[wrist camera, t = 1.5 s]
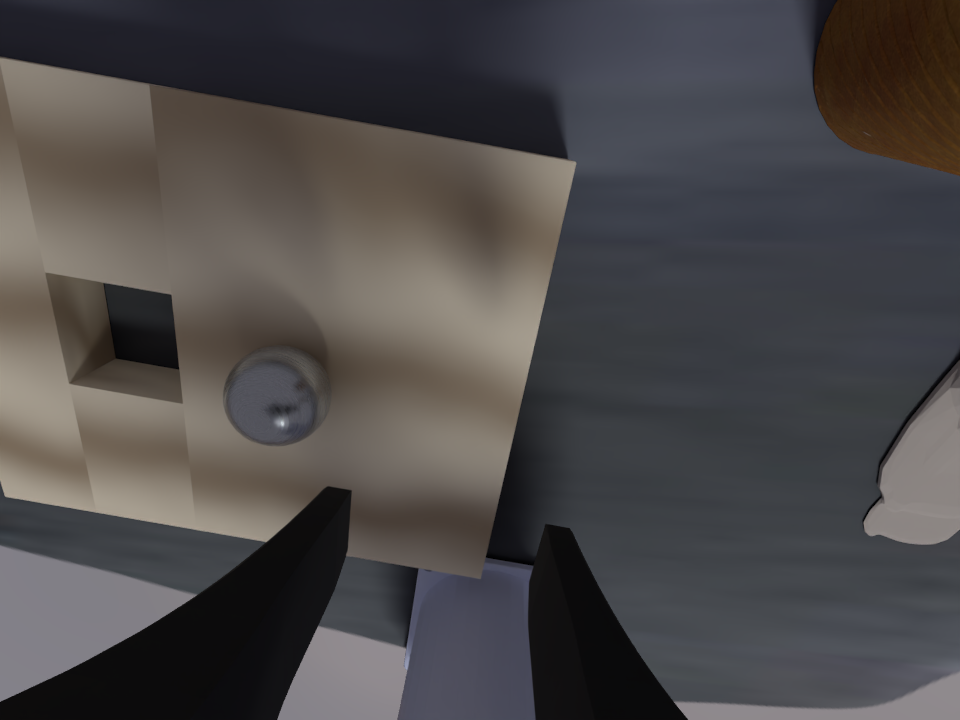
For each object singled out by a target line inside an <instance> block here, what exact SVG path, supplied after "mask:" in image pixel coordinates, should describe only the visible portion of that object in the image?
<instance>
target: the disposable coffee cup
mask: <svg viewBox="0 0 960 720" xmlns="http://www.w3.org/2000/svg"><path fill="white" fill-rule="evenodd" d="M814 84H815V94H816V98H817V102H818V106H819V110H820V112H821V114H822V116H823V118H824V119H825V121H826V123H827V125H828V126H829V128H830V129H831V130H832V131H833V132H834V133H835V134H836V136H837V137H838V138H839V139H841V140H842V141H844V142H845V143H847V144H848V145H850V146H851V147H853V148H855V149H858V150H861V151H864V152H867V153H870V154H877V155H881V156H885V157H889V158H893V159H896V160H901V161H905V162H908V163H912V164H917V165H921V166H924V167H928V168H933V169H936V170H940V171H944V172H948V173H952V174H955V175H959V176H960V0H837V2H836V3H835V5H834V7H833V9H832V11H831V13H830V15H829V17H828V19H827V21H826V23H825V26H824V29H823V32H822V36H821V39H820V42H819V46H818V49H817V54H816V62H815V70H814Z"/></svg>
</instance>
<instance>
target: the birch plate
mask: <svg viewBox="0 0 960 720" xmlns="http://www.w3.org/2000/svg"><path fill="white" fill-rule="evenodd" d="M575 166H576V162H574V161H572V160H569V159H564V158H558V157H552V156H547V155H541V154H536V153H530V152H525V151H519V150H514V149H508V148H503V147H497V146H492V145H486V144H481V143H475V142H470V141H464V140H459V139H453V138H448V137H442V136H437V135H431V134H425V133H420V132H414V131H409V130H403V129H398V128H392V127H387V126H381V125H376V124H370V123H365V122H359V121H354V120H348V119H343V118H337V117H332V116H326V115H321V114H315V113H309V112H304V111H298V110H293V109H287V108H282V107H276V106H271V105H265V104H260V103H254V102H249V101H243V100H238V99H232V98H227V97H221V96H216V95H210V94H205V93H199V92H193V91H188V90H182V89H177V88H171V87H166V86H160V85H155V84H149V83H144V82H138V81H133V80H127V79H122V78H116V77H111V76H105V75H100V74H94V73H89V72H83V71H77V70H72V69H66V68H61V67H55V66H50V65H44V64H39V63H33V62H28V61H22V60H17V59H11V58H6V57H0V481H1V485H2V488H3V491H4V494H5V497H10V498H16V499H22V500H28V501H33V502H39V503H45V504H51V505H57V506H62V507H68V508H74V509H80V510H85V511H91V512H97V513H103V514H108V515H114V516H120V517H126V518H132V519H137V520H143V521H149V522H155V523H160V524H166V525H172V526H178V527H183V528H189V529H195V530H201V531H207V532H212V533H218V534H224V535H230V536H235V537H241V538H247V539H253V540H258V541H264V542H267V541H268V540H269V539H271V538H272V537H273V536H274V535H275V534H276V533H277V532H279V531H280V530H281V529H282V528H283V527H284V526H285V525H287V524H288V523H289V522H290V521H291V520H292V519H293V518H294V517H295V516H296V515H297V514H298V513H299V512H301V511H302V510H303V509H304V508H305V507H306V506H307V505H308V504H309V503H310V502H311V501H312V500H313V499H314V498H315V497H316V496H317V495H318V494H319V493H320V492H321V491H322V490H323V489H324V488H326V487H327V486H330V487H336V488H342V489H348V490H352V495H351V510H350V525H349V540H348V551H347V554H346V556H351V557H356V558H362V559H368V560H374V561H380V562H385V563H391V564H397V565H403V566H408V567H414V568H420V569H426V570H431V571H437V572H443V573H449V574H455V575H460V576H466V577H472V578H478V579H481V575H482V571H483V567H484V562H485V558H486V554H487V549H488V545H489V541H490V536H491V532H492V528H493V523H494V519H495V515H496V510H497V506H498V501H499V497H500V493H501V488H502V484H503V480H504V475H505V471H506V467H507V462H508V458H509V454H510V449H511V445H512V441H513V436H514V432H515V427H516V423H517V419H518V414H519V410H520V406H521V401H522V397H523V393H524V388H525V384H526V380H527V375H528V371H529V367H530V362H531V358H532V354H533V349H534V345H535V340H536V336H537V332H538V327H539V323H540V319H541V314H542V310H543V306H544V301H545V297H546V293H547V288H548V284H549V280H550V275H551V271H552V266H553V262H554V258H555V253H556V249H557V245H558V240H559V236H560V232H561V227H562V223H563V219H564V214H565V210H566V206H567V201H568V197H569V192H570V188H571V184H572V179H573V175H574V171H575ZM103 283H108V284H114V285H120V286H125V287H131V288H137V289H142V290H148V291H154V292H159V293H165V294H170V295H172V305H173V314H174V323H175V333H176V342H177V352H178V361H179V370H178V369H172V368H167V367H161V366H155V365H150V364H144V363H138V362H133V361H127V360H121V359H116V357H115V351H114V345H113V339H112V333H111V327H110V321H109V315H108V309H107V303H106V297H105V291H104V285H103ZM275 345H282V346H290V347H294V348H298V349H300V350H303V351H305V352H307V353H308V354H310V355H311V356H312V357H314V358H315V359H316V360H317V361H318V362H319V363H320V364H321V365H322V367H323V368H324V369H325V371H326V373H327V375H328V377H329V380H330V384H331V389H332V400H331V405H330V409H329V412H328V414H327V416H326V418H325V420H324V421H323V423H322V424H321V426H320V427H319V428H318V429H317V430H316V431H315V432H314V433H312V434H311V435H310V436H309V437H307V438H305V439H303V440H302V441H300V442H297V443H294V444H291V445H286V446H265V445H261V444H258V443H255V442H252V441H250V440H248V439H247V438H245V437H243V436H242V435H241V434H240V433H238V432H237V431H236V430H235V428H234V427H233V426H232V425H231V423H230V422H229V420H228V418H227V416H226V413H225V410H224V406H223V389H224V385H225V382H226V379H227V376H228V375H229V373H230V371H231V370H232V368H233V367H234V366H235V364H236V363H237V362H238V361H240V360H241V359H242V358H243V357H244V356H246V355H248V354H249V353H251V352H253V351H255V350H257V349H260V348H263V347H268V346H275Z"/></svg>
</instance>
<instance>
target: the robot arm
mask: <svg viewBox="0 0 960 720" xmlns="http://www.w3.org/2000/svg"><path fill="white" fill-rule="evenodd" d="M351 495H352V490H348V489H342V488H336V487H330V486H327V487H326V488H324V489H323V490H322V491H321V492H320V493H319V494H318V495H317V496H316V497H315V498H314V499H313V500H312V501H311V502H310V503H309V504H308V505H307V506H306V507H305V508H304V509H303V510H302V511H301V512H299V513H298V514H297V515H296V516H295V517H294V518H293V519H292V520H291V521H290V522H289V523H288V524H287V525H285V526H284V527H283V528H282V529H281V530H280V531H279V532H277V533H276V534H275V535H274V536H273V537H272V538H271V539H269V540H268V541H267V542H266V543H265V544H264V545H263V546H261V547H260V548H259V549H258V550H256V551H255V552H254V553H253V554H251V555H250V556H249V557H248V558H246V559H245V560H244V561H243V562H241V563H240V564H239V565H238V566H236V567H235V568H234V569H233V570H231V571H230V572H229V573H227V574H226V575H225V576H223V577H222V578H221V579H219V580H218V581H217V582H215V583H214V584H212V585H211V586H210V587H208V588H207V589H205V590H204V591H202V592H201V593H200V594H198V595H197V596H195V597H194V598H192V599H191V600H189V601H188V602H186V603H185V604H183V605H182V606H180V607H178V608H177V609H175V610H174V611H172V612H171V613H169V614H168V615H166V616H164V617H163V618H161V619H160V620H158V621H156V622H155V623H153V624H152V625H150V626H148V627H147V628H145V629H143V630H142V631H140V632H138V633H136V634H135V635H133V636H131V637H129V638H127V639H125V640H124V641H122V642H120V643H118V644H116V645H114V646H113V647H111V648H109V649H107V650H105V651H103V652H102V653H100V654H98V655H96V656H94V657H92V658H91V659H89V660H87V661H85V662H83V663H81V664H79V665H77V666H76V667H73V668H71V669H70V670H68V671H65V672H63V673H61V674H59V675H57V676H55V677H53V678H51V679H48V680H46V681H44V682H42V683H40V684H38V685H36V686H33V687H31V688H29V689H27V690H25V691H23V692H21V693H19V694H16V695H14V696H12V697H10V698H8V699H6V700H3V701H1V702H0V720H277V718H278V716H279V713H280V710H281V707H282V705H283V702H284V700H285V697H286V695H287V693H288V690H289V688H290V685H291V683H292V680H293V678H294V676H295V674H296V672H297V670H298V668H299V666H300V663H301V661H302V659H303V657H304V655H305V652H306V650H307V648H308V646H309V644H310V642H311V640H312V637H313V635H314V633H315V631H316V629H317V627H318V625H319V623H320V620H321V618H322V616H323V614H324V612H325V609H326V607H327V605H328V603H329V601H330V599H331V596H332V594H333V592H334V590H335V587H336V584H337V581H338V578H339V575H340V572H341V569H342V566H343V563H344V560H345V557H346V554H347V551H348V540H349V525H350V510H351ZM404 667H405V669H406V670H407V675H406V680H405V685H404V690H403V695H402V700H401V704H400V710H399V714H398V719H397V720H688V719H687V718H686V717H685V715H684V714H683V713H682V712H681V710H680V709H679V708H678V707H677V706H676V704H675V703H674V702H673V700H672V699H671V698H670V696H669V695H668V694H667V692H666V691H665V690H664V688H663V687H662V686H661V685H660V683H659V682H658V680H657V679H656V678H655V676H654V675H653V673H652V672H651V671H650V669H649V668H648V666H647V665H646V663H645V662H644V660H643V659H642V658H641V656H640V655H639V653H638V652H637V650H636V648H635V647H634V645H633V644H632V642H631V641H630V639H629V638H628V636H627V634H626V633H625V631H624V629H623V628H622V626H621V625H620V623H619V621H618V620H617V618H616V616H615V614H614V613H613V611H612V609H611V608H610V606H609V604H608V602H607V600H606V599H605V597H604V595H603V593H602V591H601V589H600V588H599V586H598V584H597V582H596V580H595V578H594V576H593V574H592V572H591V570H590V568H589V566H588V564H587V562H586V560H585V558H584V556H583V554H582V552H581V550H580V548H579V546H578V543H577V541H576V539H575V537H574V535H573V532H572V531H571V530H570V528H565V527H560V526H554V525H548V524H546V525H545V528H544V532H543V535H542V538H541V542H540V545H539V549H538V552H537V556H536V559H535V563H534V566H531V565H525V564H519V563H513V562H508V561H502V560H496V559H490V558H485V562H484V567H483V571H482V575H481V579H478V578H472V577H466V576H460V575H455V574H449V573H443V572H437V571H431V570H426V569H420V568H419V569H418V576H417V582H416V589H415V596H414V602H413V609H412V615H411V622H410V628H409V635H408V641H407V648H406V654H405V661H404Z"/></svg>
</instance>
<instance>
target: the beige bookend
mask: <svg viewBox="0 0 960 720" xmlns="http://www.w3.org/2000/svg"><path fill="white" fill-rule="evenodd" d="M877 485H878V487H879V489H880V491H881V493H882V498H881V499H880V500H879V501H878V502H877V503H876V504H875V506H874V507H873V508H872V509H871V510H870V511H869V513H868V515H867V517H866V519H865V521H864V528H865V532H866V533H867V534H869V535H870V536H874V535H878V534H880V535H883V536H886V537H888V538H891V539H894V540H896V541H900V542H905V543H910V544H936V543H939V542H942V541H945V540H947V539H949V538H950V537H951V536H952V535H953V534H955V533H956V532H957V531H958V530H960V360H959V361H958V362H957V363H956V365H955V366H954V367H953V368H952V369H951V370H950V371H949V373H948V374H947V375H946V376H945V377H944V378H943V380H942V381H941V382H940V383H939V384H938V385H937V387H936V388H935V389H934V390H933V392H932V393H931V394H930V395H929V396H928V398H927V399H926V400H925V401H924V403H923V404H922V405H921V406H920V407H919V409H918V410H917V411H916V412H915V414H914V415H913V416H912V417H911V419H910V420H909V421H908V422H907V424H906V425H905V427H904V428H903V430H902V432H901V433H900V435H899V436H898V438H897V440H896V441H895V443H894V444H893V446H892V448H891V449H890V451H889V452H888V454H887V456H886V457H885V459H884V460H883V462H882V464H881V465H880V471H879V478H878V484H877Z"/></svg>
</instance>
